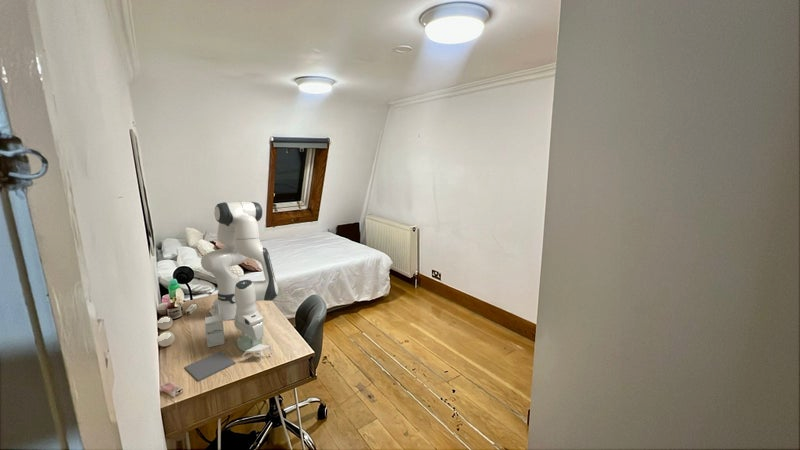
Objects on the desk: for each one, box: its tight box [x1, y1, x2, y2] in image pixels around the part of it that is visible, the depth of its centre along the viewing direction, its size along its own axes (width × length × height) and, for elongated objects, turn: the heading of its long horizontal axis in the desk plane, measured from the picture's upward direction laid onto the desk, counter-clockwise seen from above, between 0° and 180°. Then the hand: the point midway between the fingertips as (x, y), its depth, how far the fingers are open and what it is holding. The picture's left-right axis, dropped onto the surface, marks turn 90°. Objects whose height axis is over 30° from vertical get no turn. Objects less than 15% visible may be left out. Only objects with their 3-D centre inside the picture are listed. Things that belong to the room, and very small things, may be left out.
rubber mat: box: [184, 350, 237, 382], centre depth 145 cm, size 14×15×1 cm
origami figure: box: [241, 343, 274, 361], centre depth 151 cm, size 12×8×5 cm
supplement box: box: [204, 314, 226, 349], centre depth 162 cm, size 7×7×13 cm
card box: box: [236, 335, 263, 352], centre depth 161 cm, size 6×9×4 cm, turn 142°
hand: (249, 341), depth 161 cm, fingers closed on card box, 6 cm apart
